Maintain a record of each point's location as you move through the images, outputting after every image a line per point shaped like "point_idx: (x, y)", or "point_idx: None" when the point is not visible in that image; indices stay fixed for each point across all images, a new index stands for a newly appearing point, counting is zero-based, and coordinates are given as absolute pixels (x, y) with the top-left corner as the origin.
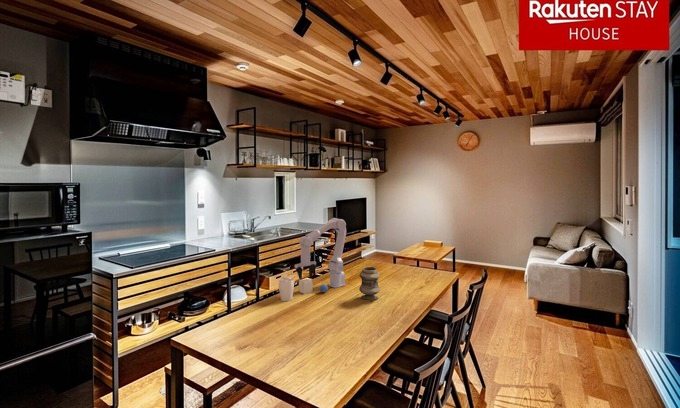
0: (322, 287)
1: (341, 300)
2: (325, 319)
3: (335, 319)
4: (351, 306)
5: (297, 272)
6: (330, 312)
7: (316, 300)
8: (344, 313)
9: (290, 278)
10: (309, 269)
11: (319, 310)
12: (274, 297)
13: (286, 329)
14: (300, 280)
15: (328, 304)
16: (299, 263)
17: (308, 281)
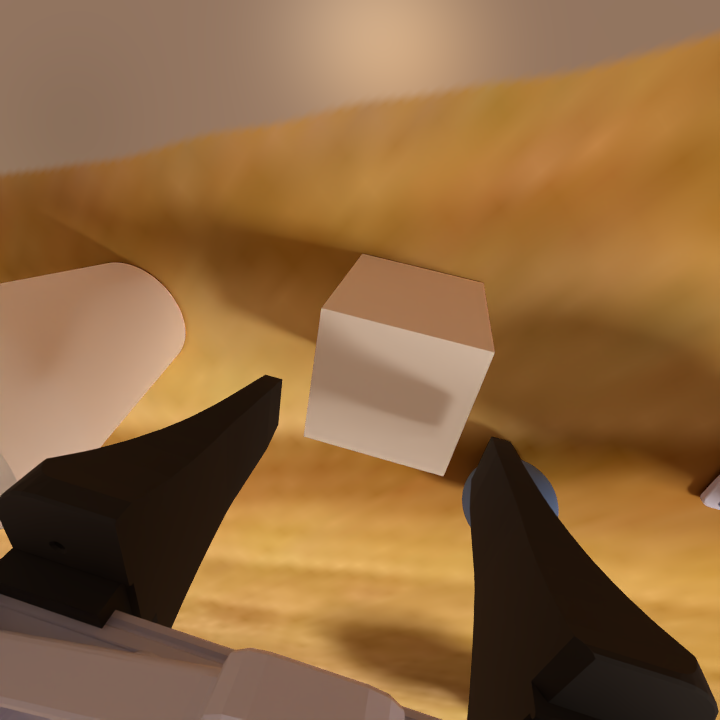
0: (470, 526)
1: (426, 613)
2: (182, 619)
3: (216, 643)
4: (383, 662)
5: (169, 434)
6: (247, 614)
7: (309, 506)
8: (289, 655)
9: (16, 423)
10: (518, 559)
11: (219, 574)
12: (51, 180)
13: (5, 549)
14: (336, 332)
15: (316, 580)
16: (49, 706)
17: (383, 451)
